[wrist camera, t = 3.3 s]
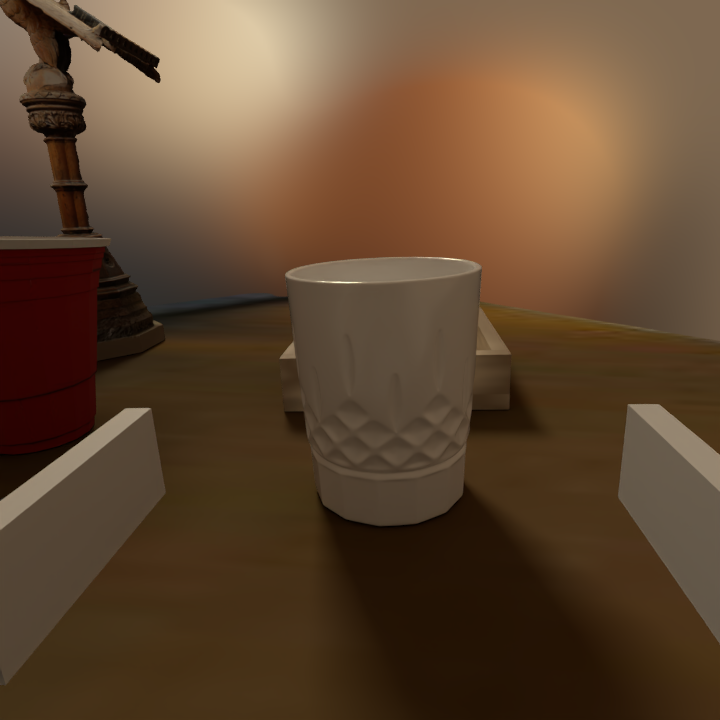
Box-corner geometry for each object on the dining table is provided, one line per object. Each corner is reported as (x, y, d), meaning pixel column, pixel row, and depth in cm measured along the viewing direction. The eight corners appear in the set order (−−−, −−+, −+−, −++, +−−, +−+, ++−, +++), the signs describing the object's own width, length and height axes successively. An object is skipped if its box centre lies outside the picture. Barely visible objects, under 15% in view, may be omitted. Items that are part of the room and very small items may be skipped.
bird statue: (230, 326, 58) (185, -48, 48) (182, 360, 46) (108, -133, 36) (88, 329, 60) (16, -32, 50) (4, 364, 47) (-114, -108, 37)
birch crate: (284, 411, 34) (279, 358, 33) (319, 350, 47) (316, 312, 46) (509, 409, 32) (511, 354, 31) (479, 347, 46) (480, 307, 45)
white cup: (480, 544, 20) (487, 279, 17) (280, 531, 21) (256, 284, 19) (473, 450, 27) (477, 254, 25) (326, 444, 29) (313, 259, 26)
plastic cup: (172, 427, 32) (139, 223, 29) (-45, 501, 25) (-124, 239, 21) (105, 389, 39) (72, 223, 36) (-78, 437, 32) (-140, 236, 29)
